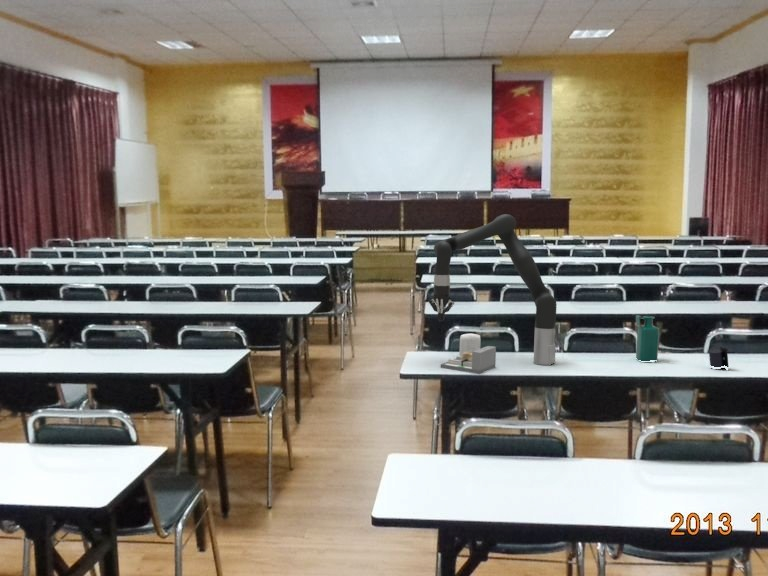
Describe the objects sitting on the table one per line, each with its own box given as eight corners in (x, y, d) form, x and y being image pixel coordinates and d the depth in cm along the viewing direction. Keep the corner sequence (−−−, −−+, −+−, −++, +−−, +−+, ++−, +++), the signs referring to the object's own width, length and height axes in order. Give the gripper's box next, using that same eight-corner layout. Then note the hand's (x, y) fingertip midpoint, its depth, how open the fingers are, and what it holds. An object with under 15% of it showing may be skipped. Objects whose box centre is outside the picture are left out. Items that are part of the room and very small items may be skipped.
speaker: (726, 367, 330) (725, 345, 329) (728, 370, 325) (728, 348, 323) (708, 367, 332) (708, 346, 331) (710, 371, 327) (710, 349, 325)
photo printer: (478, 357, 348) (479, 332, 346) (481, 359, 344) (481, 334, 342) (458, 357, 346) (458, 333, 345) (460, 359, 342) (460, 334, 341)
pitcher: (652, 358, 348) (654, 314, 346) (658, 362, 340) (661, 317, 337) (632, 358, 348) (634, 314, 346) (638, 362, 340) (640, 317, 337)
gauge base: (495, 367, 328) (496, 346, 326) (479, 373, 314) (480, 352, 313) (457, 361, 339) (457, 341, 338) (440, 367, 326) (441, 347, 324)
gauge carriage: (477, 363, 327) (477, 352, 326) (466, 367, 318) (467, 356, 318) (467, 361, 330) (468, 351, 329) (456, 366, 321) (457, 355, 320)
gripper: (458, 284, 330) (457, 321, 332) (433, 282, 337) (432, 318, 339) (450, 286, 323) (449, 323, 325) (425, 283, 331) (424, 320, 333)
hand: (441, 320), depth 332 cm, fingers closed
